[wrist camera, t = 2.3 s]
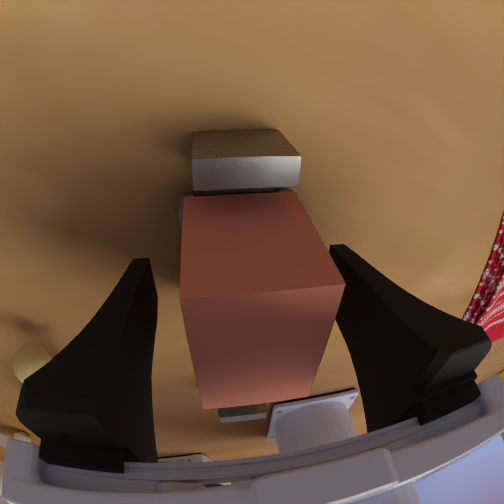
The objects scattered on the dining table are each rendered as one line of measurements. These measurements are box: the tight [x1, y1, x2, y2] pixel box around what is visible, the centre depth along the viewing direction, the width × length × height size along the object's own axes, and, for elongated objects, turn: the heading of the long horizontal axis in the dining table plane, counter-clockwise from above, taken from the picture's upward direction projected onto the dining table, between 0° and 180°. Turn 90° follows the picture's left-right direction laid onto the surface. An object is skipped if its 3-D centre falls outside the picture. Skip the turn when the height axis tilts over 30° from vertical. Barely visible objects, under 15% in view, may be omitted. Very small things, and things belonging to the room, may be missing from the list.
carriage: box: [178, 190, 346, 409], centre depth 12 cm, size 6×4×6 cm
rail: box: [191, 130, 301, 423], centre depth 15 cm, size 18×3×3 cm, turn 178°
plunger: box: [12, 343, 53, 383], centre depth 15 cm, size 5×3×3 cm, turn 178°
